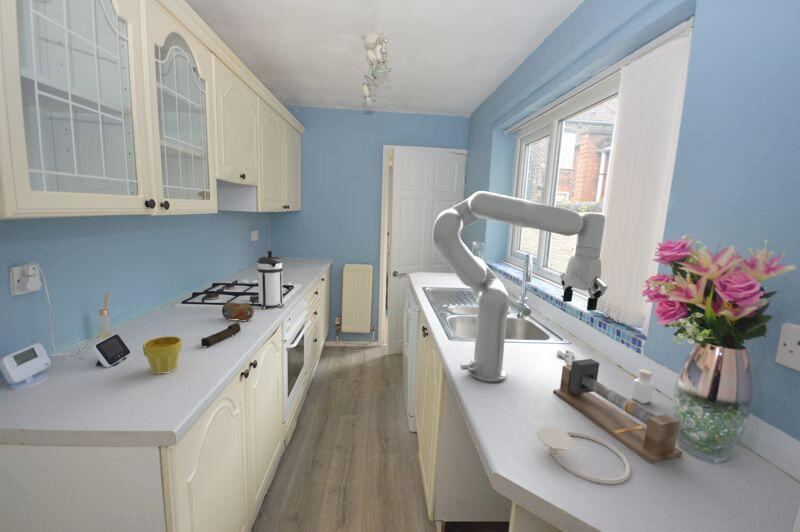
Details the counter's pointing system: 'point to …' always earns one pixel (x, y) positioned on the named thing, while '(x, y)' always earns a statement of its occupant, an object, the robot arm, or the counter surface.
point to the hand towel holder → (563, 441)
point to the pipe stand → (623, 419)
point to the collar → (582, 374)
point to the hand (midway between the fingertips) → (578, 305)
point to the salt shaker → (642, 387)
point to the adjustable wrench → (566, 356)
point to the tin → (237, 311)
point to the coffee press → (270, 280)
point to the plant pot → (162, 353)
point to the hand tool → (221, 335)
